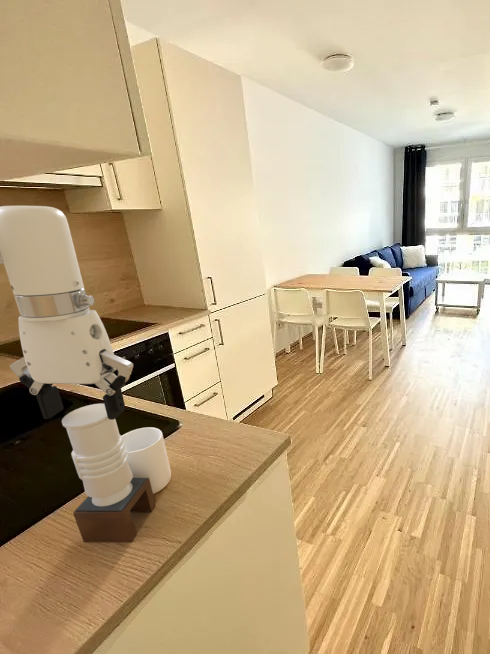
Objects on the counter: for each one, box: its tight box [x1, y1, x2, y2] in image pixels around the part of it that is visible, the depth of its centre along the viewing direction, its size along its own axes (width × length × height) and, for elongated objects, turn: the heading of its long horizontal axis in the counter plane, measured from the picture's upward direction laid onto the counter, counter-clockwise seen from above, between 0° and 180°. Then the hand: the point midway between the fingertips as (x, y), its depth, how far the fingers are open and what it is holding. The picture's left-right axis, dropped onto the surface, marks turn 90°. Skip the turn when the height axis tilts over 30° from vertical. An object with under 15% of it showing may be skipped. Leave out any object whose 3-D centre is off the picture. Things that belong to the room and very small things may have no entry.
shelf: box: [72, 478, 157, 543], centre depth 61 cm, size 8×8×6 cm
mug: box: [121, 426, 172, 495], centre depth 71 cm, size 12×8×10 cm
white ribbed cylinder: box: [61, 403, 133, 506], centre depth 57 cm, size 7×7×15 cm
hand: (85, 414), depth 54 cm, fingers open, 9 cm apart
